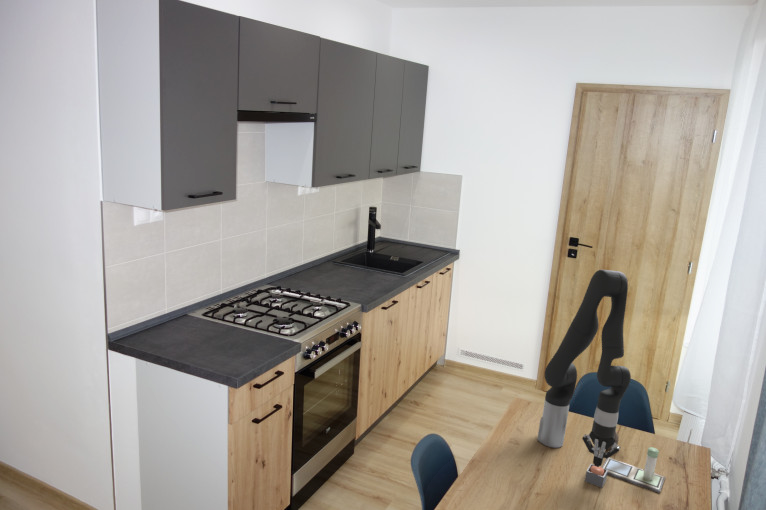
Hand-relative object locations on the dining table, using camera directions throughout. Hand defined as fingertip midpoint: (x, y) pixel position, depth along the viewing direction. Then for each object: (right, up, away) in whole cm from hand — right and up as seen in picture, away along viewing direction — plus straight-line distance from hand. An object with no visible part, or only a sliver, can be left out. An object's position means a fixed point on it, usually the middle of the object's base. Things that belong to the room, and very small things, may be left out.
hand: (596, 465), depth 211 cm
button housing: (0, -6, +1) cm, 6 cm away
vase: (+13, -2, +25) cm, 28 cm away
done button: (0, -5, +1) cm, 5 cm away
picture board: (+15, -6, +6) cm, 17 cm away
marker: (+19, -6, +4) cm, 20 cm away
